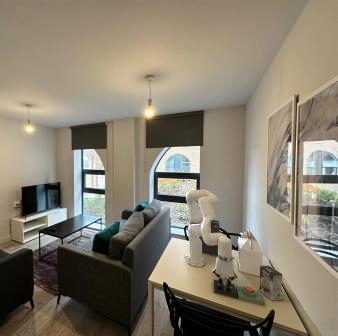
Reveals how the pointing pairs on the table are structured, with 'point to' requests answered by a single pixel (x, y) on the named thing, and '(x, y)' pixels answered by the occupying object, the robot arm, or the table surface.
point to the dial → (224, 282)
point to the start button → (249, 289)
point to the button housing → (249, 295)
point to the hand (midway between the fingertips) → (224, 284)
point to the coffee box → (270, 282)
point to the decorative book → (210, 249)
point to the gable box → (249, 254)
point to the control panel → (225, 290)
